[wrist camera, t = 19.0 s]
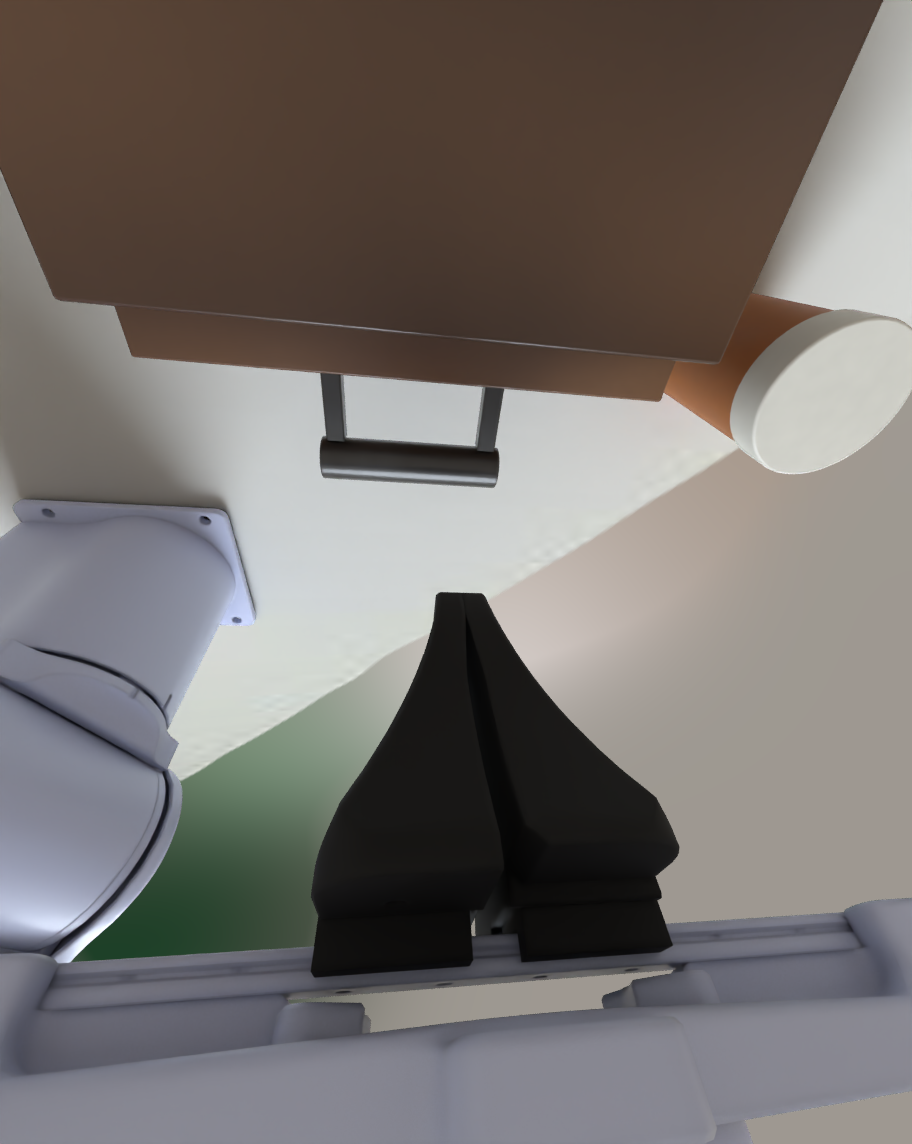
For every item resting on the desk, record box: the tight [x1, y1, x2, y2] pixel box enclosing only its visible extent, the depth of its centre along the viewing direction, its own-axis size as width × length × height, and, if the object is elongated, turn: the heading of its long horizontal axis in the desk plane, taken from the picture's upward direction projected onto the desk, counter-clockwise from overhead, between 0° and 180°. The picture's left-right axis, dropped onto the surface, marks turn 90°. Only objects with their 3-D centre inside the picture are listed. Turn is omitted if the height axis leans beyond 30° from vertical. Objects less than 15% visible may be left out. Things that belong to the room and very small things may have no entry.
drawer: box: [115, 306, 676, 488], centre depth 11 cm, size 17×13×7 cm
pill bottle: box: [664, 293, 912, 474], centre depth 15 cm, size 4×4×8 cm
